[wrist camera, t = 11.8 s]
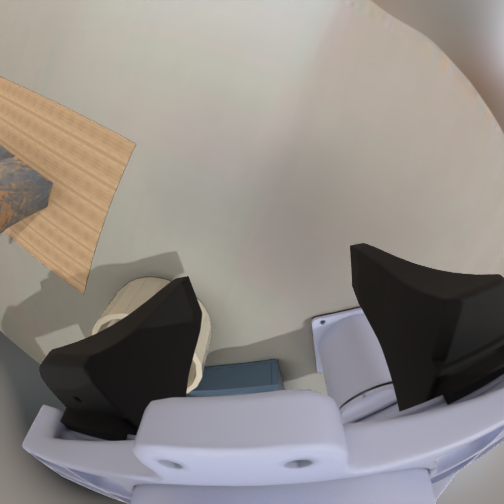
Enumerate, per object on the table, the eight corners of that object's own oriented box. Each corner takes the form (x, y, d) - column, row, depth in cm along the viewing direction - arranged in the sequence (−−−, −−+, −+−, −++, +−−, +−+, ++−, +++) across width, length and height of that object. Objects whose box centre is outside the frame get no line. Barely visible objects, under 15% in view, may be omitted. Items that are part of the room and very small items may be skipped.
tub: (277, 358, 26) (278, 384, 23) (291, 414, 31) (292, 435, 28) (169, 368, 28) (162, 391, 25) (205, 421, 33) (202, 440, 30)
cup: (191, 268, 22) (173, 307, 17) (224, 352, 26) (217, 395, 21) (100, 284, 23) (72, 318, 18) (141, 358, 27) (126, 394, 22)
